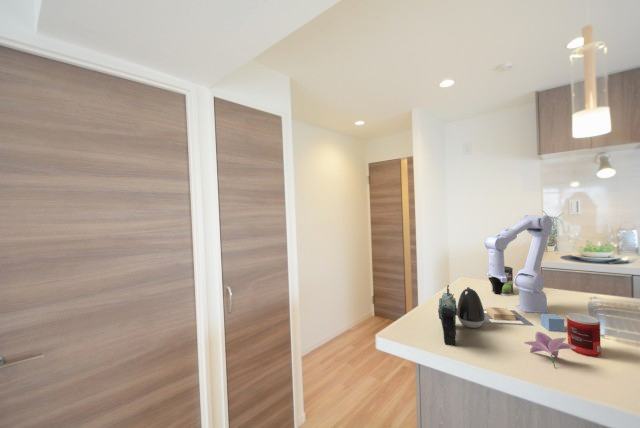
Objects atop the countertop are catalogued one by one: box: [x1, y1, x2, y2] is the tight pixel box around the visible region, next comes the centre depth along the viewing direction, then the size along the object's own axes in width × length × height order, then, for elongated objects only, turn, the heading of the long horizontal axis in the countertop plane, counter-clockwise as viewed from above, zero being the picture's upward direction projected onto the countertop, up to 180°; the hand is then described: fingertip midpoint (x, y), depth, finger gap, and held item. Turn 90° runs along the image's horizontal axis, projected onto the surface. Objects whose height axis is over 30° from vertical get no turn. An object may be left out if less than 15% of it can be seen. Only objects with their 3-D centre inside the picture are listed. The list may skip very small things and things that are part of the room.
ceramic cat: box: [437, 284, 457, 347], centre depth 101 cm, size 20×6×20 cm, turn 154°
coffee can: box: [490, 265, 514, 296], centre depth 146 cm, size 10×10×14 cm
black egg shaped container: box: [456, 287, 485, 329], centre depth 108 cm, size 10×10×15 cm
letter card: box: [483, 308, 536, 327], centre depth 115 cm, size 18×16×1 cm
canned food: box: [566, 312, 602, 358], centre depth 86 cm, size 8×8×11 cm
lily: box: [523, 331, 576, 369], centre depth 81 cm, size 12×12×10 cm
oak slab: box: [486, 306, 515, 321], centre depth 115 cm, size 8×8×2 cm
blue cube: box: [540, 313, 565, 333], centre depth 102 cm, size 5×5×5 cm
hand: (497, 294), depth 117 cm, fingers closed
